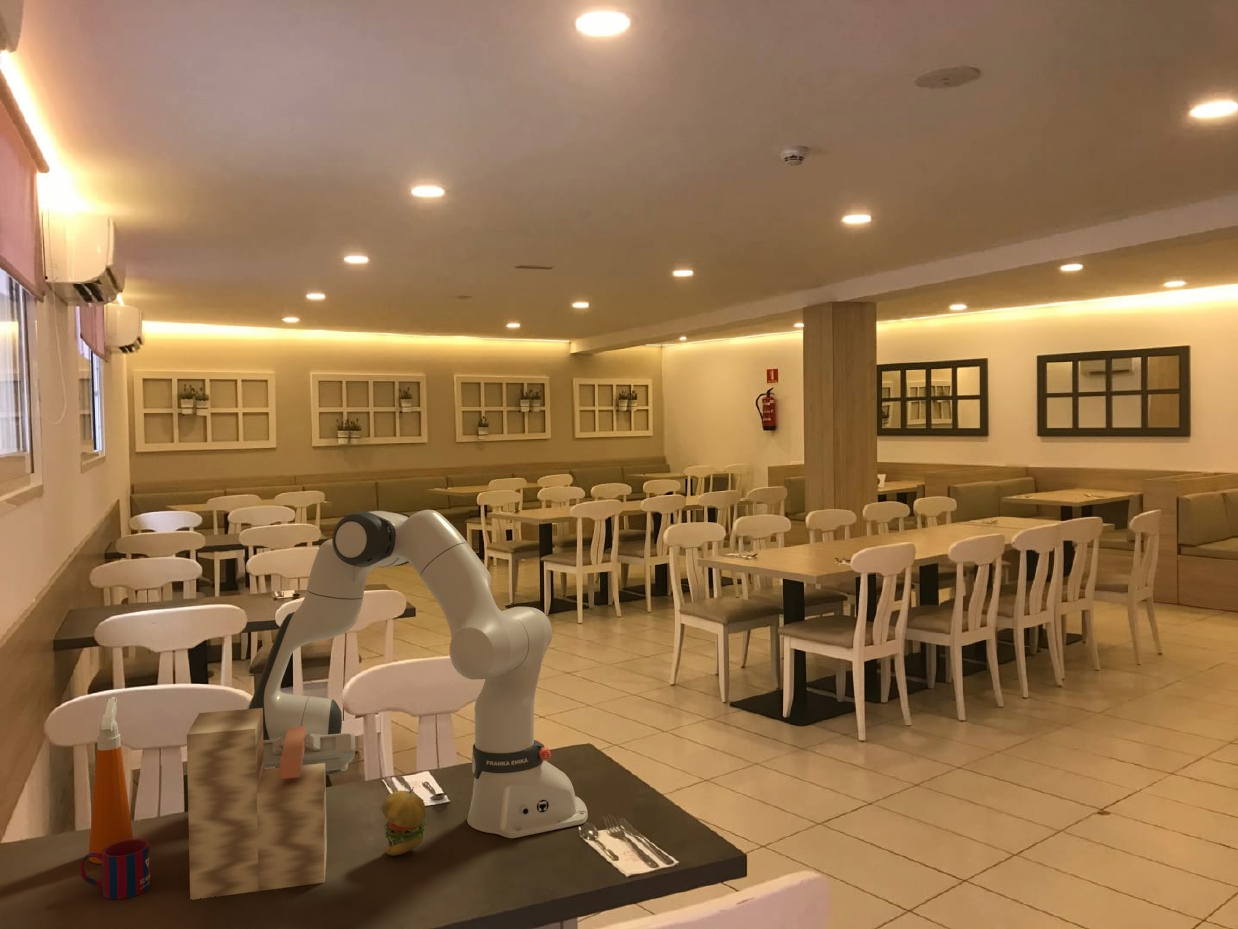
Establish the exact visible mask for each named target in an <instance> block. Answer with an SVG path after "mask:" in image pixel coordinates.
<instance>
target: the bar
mask: <svg viewBox="0 0 1238 929" xmlns="http://www.w3.org/2000/svg"><path fill="white" fill-rule="evenodd" d="M304 736H306V726H301V727H290V728H288V730H287V734H286V738H285V742H284V746H283V751H282V755H281V759H280V778H281V779H285V778H295V777H300V775H301V769H302V763H303V757H304V751H305V746H304V741H305V740H304Z"/></svg>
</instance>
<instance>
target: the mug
mask: <svg viewBox="0 0 1238 929" xmlns="http://www.w3.org/2000/svg"><path fill="white" fill-rule="evenodd" d="M150 856H151V855H150V842H149V841H148V840H146V839H143V838H133V839H129V840H123V841H119V842H116V843H113V844H111V845H109V846H107V847H106V848H105V849H104V850H103V851H102V853H90V854H89V853H88V854H86V855H85V856H83V858H82V860H81V861H80V866H79V872H80V876H81V878H82V879H83V881H84V882H86V883H87V884H89V885H91V886H94V887H101V888H102V896H103V897H104V898H105V899H108V900H125V899H129V898H133V897H136V896H139V895H140V894H142V893H144V892H146V891H147V890H149V888H150V886H151V865H150V864H151V862H150V861H151V860H150V859H151V858H150ZM89 857H96V858H99V859H100V860H102V864H101V865H102V867H101V868H102V870H101V871H102V876H101V877H102V879H101V880H96V879H92V878H90V876H88V874H87V872H86V869H85V864H86V861H87V859H89Z"/></svg>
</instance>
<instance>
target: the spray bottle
mask: <svg viewBox="0 0 1238 929" xmlns="http://www.w3.org/2000/svg"><path fill="white" fill-rule="evenodd" d="M117 704H118V699H117V697H115V696H112V697H109V698H107V699H106V704H105V709H104V710H103V715H102V719H101V723H100V725H99V729H98V735H99V736H98V737H97V740H96V742H97V749H96V761H95V773H94V785H93V798H92V807H91V808H92V809H91V810H92V811H91V821H90V822H91V823H90V834H89V847H88V848H89V849H88V854H90V853H102V851H103V850H104V849H105V848H106V847H107V846H109V845H111V844H113V843H116V842H119V841H123V840H129V839H134V835H133V826H132V821H131V820H132V819H131V812H130V804H129V798H128V790H127V782H126V774H125V768H124V767H125V766H124V759H123V750H122V744H121V741H122V740H121V734H120V733H119V725H118V723H117V721H116V716H117V711H118V706H117ZM88 861H89V862H91V863H93V864H96V865H97V864H99V865H102V860H100V859H99V858H96V857H89V858H88Z"/></svg>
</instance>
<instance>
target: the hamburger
mask: <svg viewBox="0 0 1238 929" xmlns="http://www.w3.org/2000/svg"><path fill="white" fill-rule="evenodd" d="M413 790H414V786H413V787H412V788H411V789H410V790H409V791H407V790H402V789H401V790H396V791H394V792H392V793H389V795H387V797H386V798H385V799H384V801H383V803H382V806H381V811H382V813H383V815H384V818H385V819H387V820H386V822H385V824H384V828H385V831H386V832H384V836H385V838H387V844H386V845H385V846H384V847H383V850H384V852H385V853H386V854H387V855H388V856H400V855H403V854H405V853H408V852H410V851H412V850H413V849H416V848H417V847H418V846H419V845H420V844H421V843H422V842H423V839H424V831H425V829H424V827H425V824H426V823H425V821H424V820H425V818H426V814H427V808H426V805H425V803H424V799H423V798H421V797H420V795H418V794H416V793H414V792H413Z"/></svg>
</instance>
